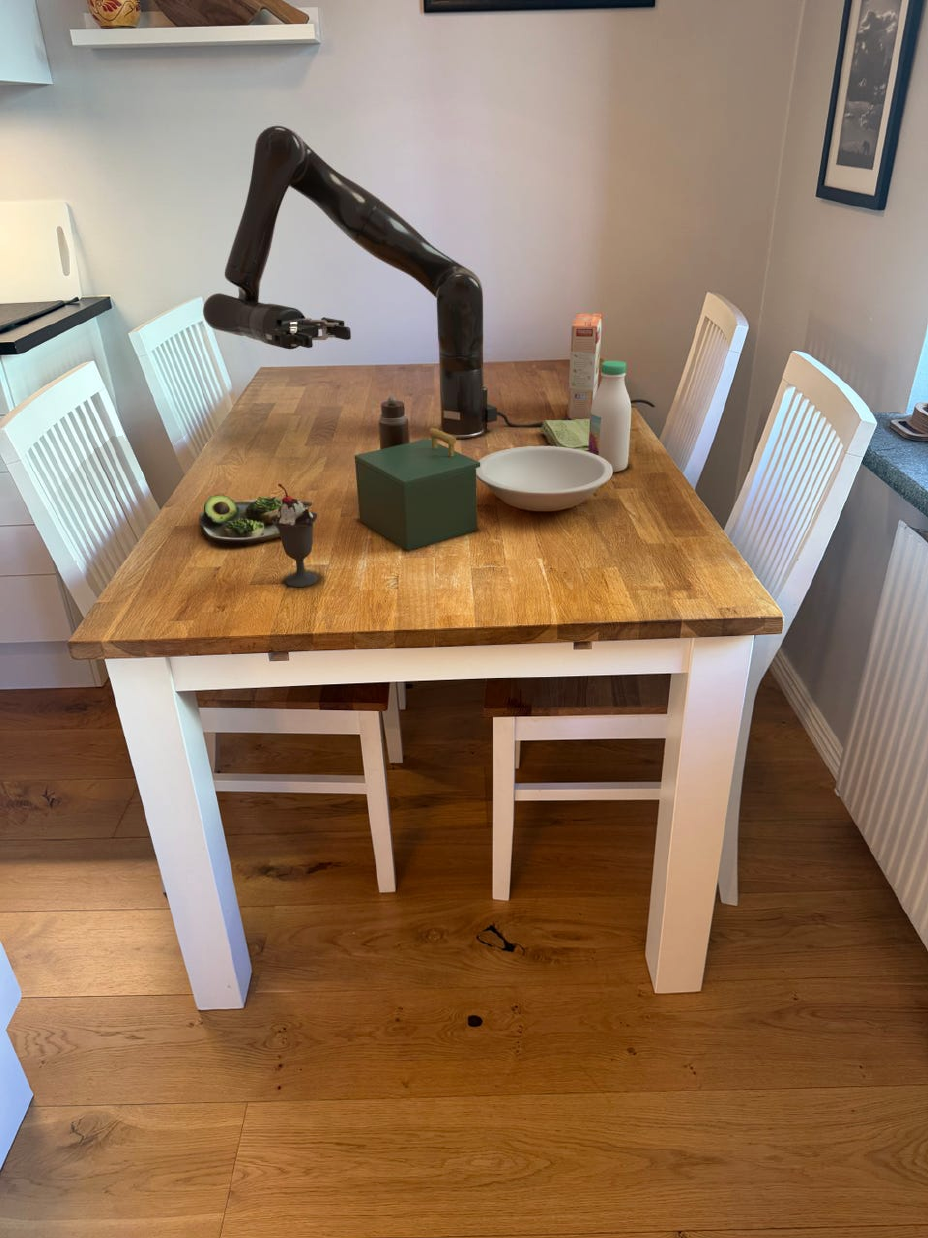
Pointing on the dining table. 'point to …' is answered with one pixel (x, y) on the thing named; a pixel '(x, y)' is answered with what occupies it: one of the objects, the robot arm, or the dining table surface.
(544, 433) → the washcloth
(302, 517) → the sundae
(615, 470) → the milk bottle
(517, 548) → the dining table surface
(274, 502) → the salad plate
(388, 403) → the pepper mill
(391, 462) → the bin lid
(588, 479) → the soup bowl
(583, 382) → the cracker box
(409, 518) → the bin
